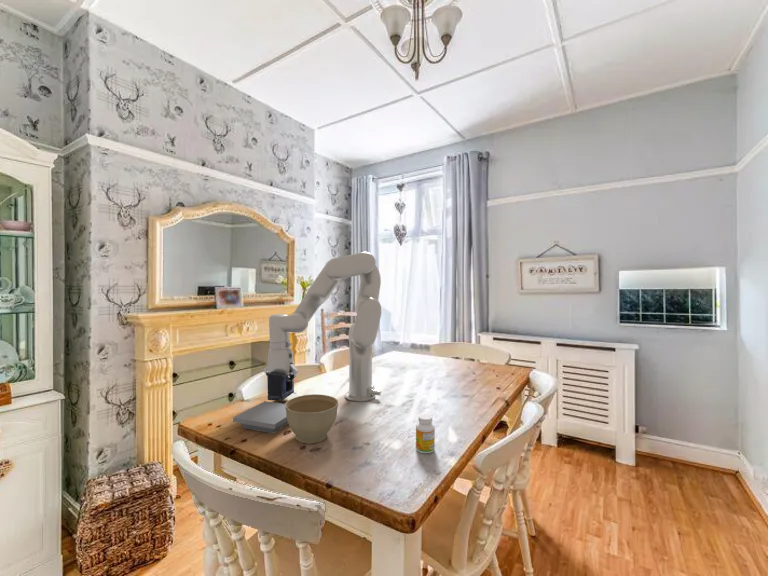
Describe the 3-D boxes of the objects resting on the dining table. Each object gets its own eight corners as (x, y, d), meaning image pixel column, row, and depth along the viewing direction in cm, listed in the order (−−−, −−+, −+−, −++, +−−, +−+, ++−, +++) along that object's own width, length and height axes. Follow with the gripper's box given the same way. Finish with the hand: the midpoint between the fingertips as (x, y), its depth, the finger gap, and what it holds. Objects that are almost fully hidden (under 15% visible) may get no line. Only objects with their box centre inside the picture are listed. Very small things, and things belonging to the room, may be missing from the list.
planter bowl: (313, 455, 96) (313, 417, 96) (274, 440, 105) (273, 405, 105) (348, 433, 110) (348, 399, 110) (311, 422, 119) (311, 390, 118)
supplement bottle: (414, 445, 103) (414, 413, 102) (432, 444, 103) (432, 412, 103) (417, 454, 97) (417, 420, 97) (436, 453, 98) (436, 420, 97)
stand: (302, 417, 123) (302, 406, 122) (274, 437, 107) (274, 424, 107) (265, 411, 128) (265, 401, 128) (233, 429, 113) (233, 417, 112)
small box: (282, 401, 132) (281, 374, 131) (267, 400, 133) (266, 373, 133) (295, 392, 142) (294, 367, 142) (280, 391, 143) (279, 366, 143)
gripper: (303, 344, 138) (305, 388, 138) (267, 342, 143) (269, 385, 144) (293, 348, 131) (294, 394, 131) (255, 346, 136) (257, 391, 137)
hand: (281, 389), depth 137 cm, fingers closed on small box, 6 cm apart
